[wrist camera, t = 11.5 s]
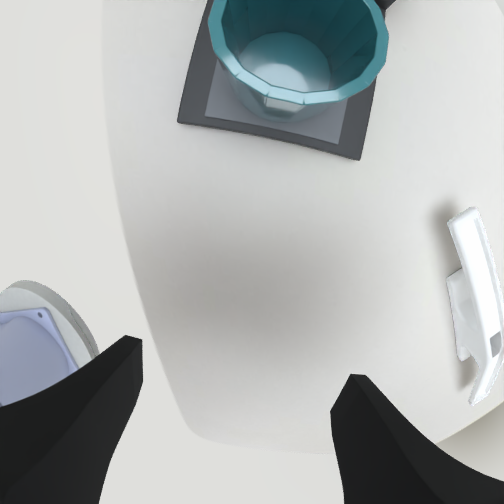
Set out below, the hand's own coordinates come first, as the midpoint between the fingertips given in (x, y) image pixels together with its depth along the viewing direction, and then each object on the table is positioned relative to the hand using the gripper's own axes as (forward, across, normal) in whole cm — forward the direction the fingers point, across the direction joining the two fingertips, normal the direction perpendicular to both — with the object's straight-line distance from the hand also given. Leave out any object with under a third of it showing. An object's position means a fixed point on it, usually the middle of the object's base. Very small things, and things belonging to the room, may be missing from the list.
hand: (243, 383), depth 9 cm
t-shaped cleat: (+10, -18, 0) cm, 21 cm away
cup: (+8, +1, -12) cm, 14 cm away
